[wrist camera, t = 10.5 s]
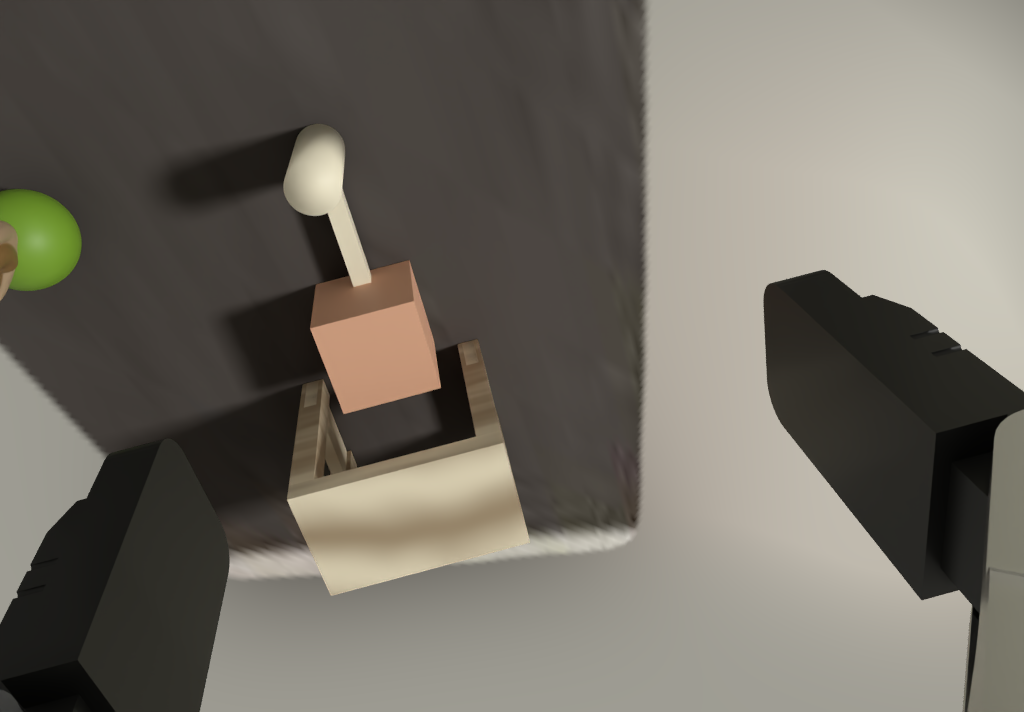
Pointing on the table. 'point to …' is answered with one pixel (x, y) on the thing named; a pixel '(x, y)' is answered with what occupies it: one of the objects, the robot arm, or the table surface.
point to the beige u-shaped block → (403, 494)
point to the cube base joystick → (359, 293)
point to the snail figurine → (35, 241)
